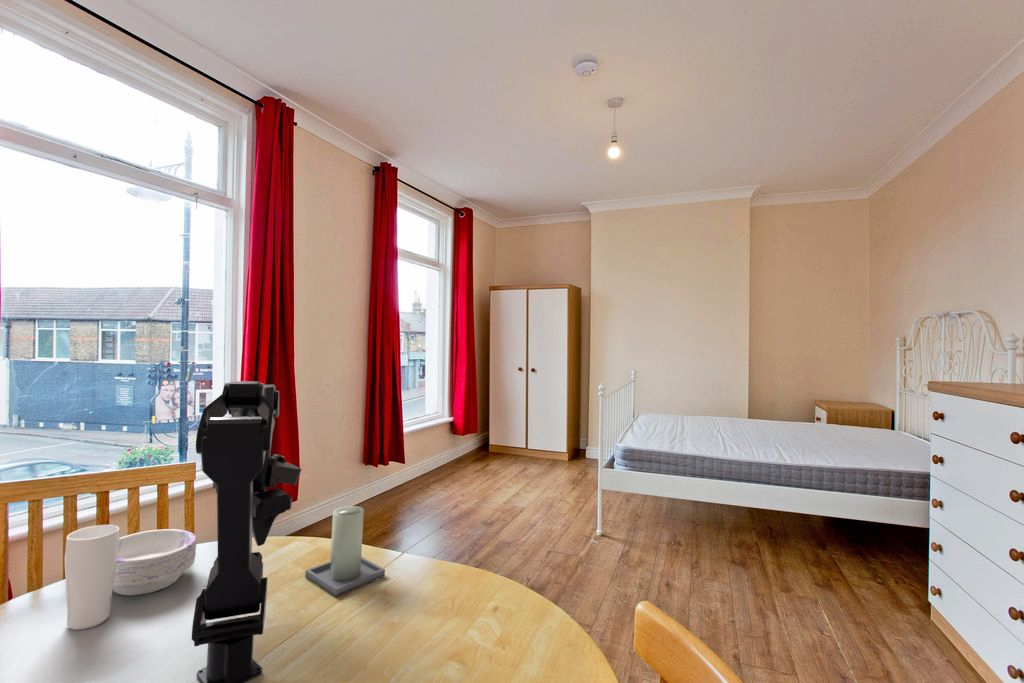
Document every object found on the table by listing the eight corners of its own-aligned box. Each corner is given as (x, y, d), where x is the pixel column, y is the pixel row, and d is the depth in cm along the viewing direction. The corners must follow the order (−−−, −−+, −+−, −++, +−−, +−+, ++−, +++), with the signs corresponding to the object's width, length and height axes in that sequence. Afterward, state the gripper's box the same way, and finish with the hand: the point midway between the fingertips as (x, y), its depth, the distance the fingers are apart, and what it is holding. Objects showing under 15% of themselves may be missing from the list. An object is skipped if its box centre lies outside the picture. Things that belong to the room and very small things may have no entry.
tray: (384, 576, 98) (384, 569, 98) (335, 597, 89) (336, 589, 89) (353, 559, 105) (353, 552, 105) (305, 577, 96) (305, 570, 96)
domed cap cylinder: (362, 578, 96) (366, 513, 96) (331, 583, 93) (335, 517, 93) (357, 565, 101) (360, 504, 101) (327, 570, 98) (331, 507, 98)
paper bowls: (210, 577, 94) (212, 538, 95) (119, 614, 81) (122, 568, 81) (169, 558, 102) (171, 521, 102) (79, 589, 88) (81, 546, 88)
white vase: (82, 637, 74) (87, 542, 75) (49, 630, 76) (54, 537, 76) (125, 614, 81) (130, 526, 81) (94, 607, 82) (98, 522, 83)
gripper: (322, 457, 86) (317, 539, 87) (273, 434, 98) (269, 507, 99) (259, 470, 77) (254, 561, 79) (213, 443, 89) (210, 523, 90)
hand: (249, 535), depth 87 cm, fingers open, 9 cm apart
